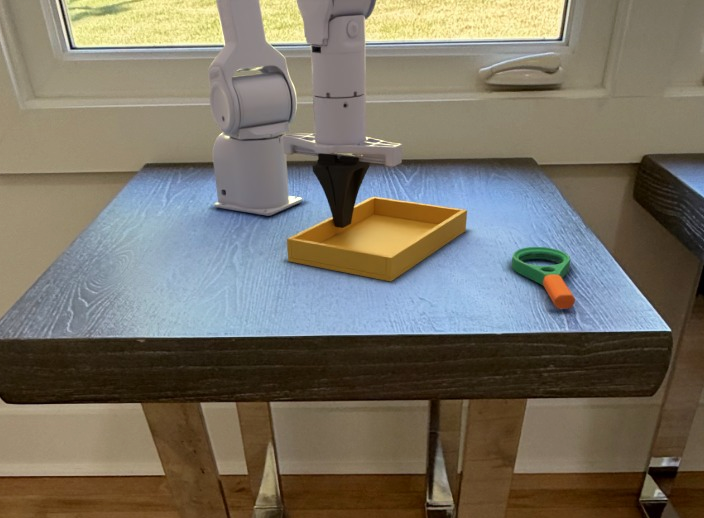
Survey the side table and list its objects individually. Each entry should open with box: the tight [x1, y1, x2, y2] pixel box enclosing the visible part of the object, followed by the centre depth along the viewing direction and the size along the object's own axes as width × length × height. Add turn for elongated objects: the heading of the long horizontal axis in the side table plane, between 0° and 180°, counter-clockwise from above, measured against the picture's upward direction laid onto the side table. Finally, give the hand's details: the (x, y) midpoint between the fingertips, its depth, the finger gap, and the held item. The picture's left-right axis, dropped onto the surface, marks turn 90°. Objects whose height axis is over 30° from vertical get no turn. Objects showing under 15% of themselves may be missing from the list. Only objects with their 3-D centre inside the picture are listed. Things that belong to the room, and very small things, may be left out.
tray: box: [286, 196, 468, 282], centre depth 82 cm, size 13×19×2 cm
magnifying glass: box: [511, 246, 576, 310], centre depth 72 cm, size 15×6×2 cm, turn 179°
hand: (342, 225), depth 84 cm, fingers closed
